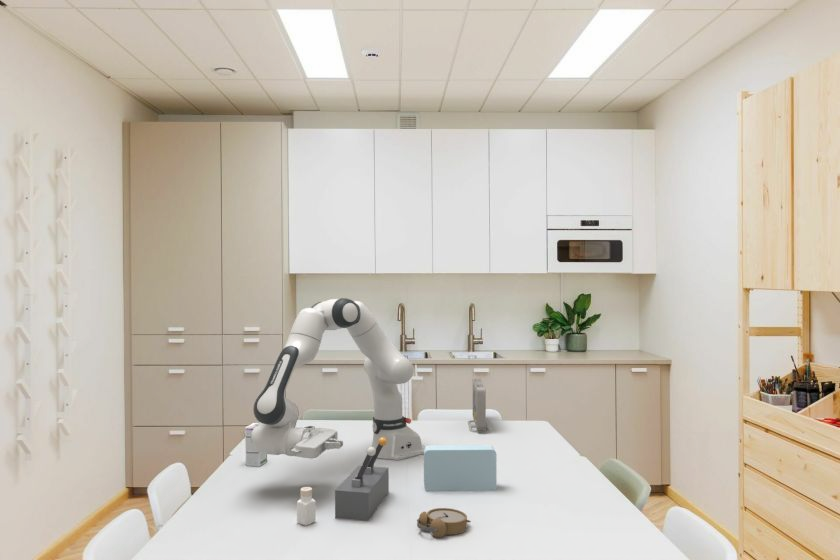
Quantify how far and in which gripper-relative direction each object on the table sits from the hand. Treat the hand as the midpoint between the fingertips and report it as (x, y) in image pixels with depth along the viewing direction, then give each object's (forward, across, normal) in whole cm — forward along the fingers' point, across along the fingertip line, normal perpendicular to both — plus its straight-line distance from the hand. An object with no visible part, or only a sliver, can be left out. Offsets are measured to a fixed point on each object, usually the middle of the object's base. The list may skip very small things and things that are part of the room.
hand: (341, 444), depth 184 cm
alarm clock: (+35, -17, +17) cm, 42 cm away
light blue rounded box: (+36, +14, +16) cm, 42 cm away
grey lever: (+9, -11, +7) cm, 16 cm away
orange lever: (+9, 0, +7) cm, 11 cm away
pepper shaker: (-3, -21, +16) cm, 27 cm away
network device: (+34, +91, +16) cm, 99 cm away
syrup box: (-41, +23, +16) cm, 50 cm away
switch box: (+9, -5, +16) cm, 19 cm away
